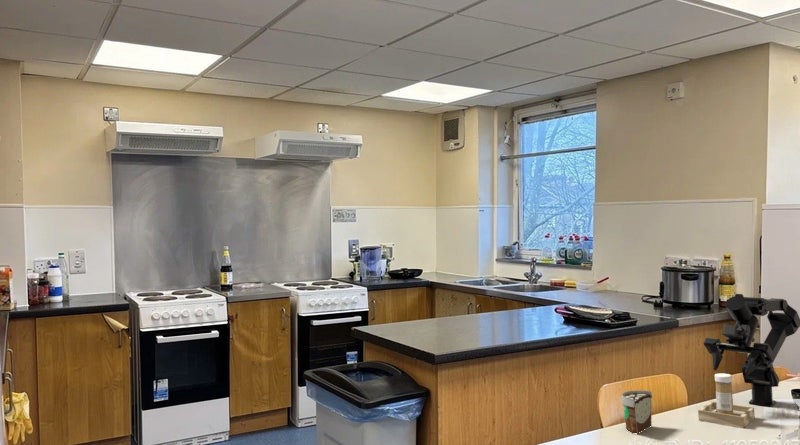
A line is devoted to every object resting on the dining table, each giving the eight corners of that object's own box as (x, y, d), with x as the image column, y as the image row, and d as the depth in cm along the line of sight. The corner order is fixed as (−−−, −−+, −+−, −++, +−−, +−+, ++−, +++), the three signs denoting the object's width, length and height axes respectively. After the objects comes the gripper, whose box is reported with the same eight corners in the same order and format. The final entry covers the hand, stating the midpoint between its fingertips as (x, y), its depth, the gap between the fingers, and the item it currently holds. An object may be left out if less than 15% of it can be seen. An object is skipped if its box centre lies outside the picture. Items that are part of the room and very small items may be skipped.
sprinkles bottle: (735, 419, 181) (733, 374, 181) (732, 423, 177) (729, 377, 178) (718, 416, 184) (716, 372, 184) (714, 420, 180) (712, 375, 181)
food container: (633, 421, 183) (631, 387, 183) (653, 425, 178) (652, 391, 179) (614, 431, 174) (612, 396, 174) (635, 436, 170) (633, 400, 170)
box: (711, 411, 190) (710, 401, 190) (754, 417, 182) (754, 407, 182) (698, 420, 181) (698, 410, 181) (743, 428, 173) (742, 417, 173)
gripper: (704, 312, 194) (689, 352, 188) (768, 316, 180) (753, 360, 173) (717, 333, 199) (703, 373, 192) (780, 339, 184) (767, 383, 177)
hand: (730, 372), depth 184 cm, fingers open, 9 cm apart
